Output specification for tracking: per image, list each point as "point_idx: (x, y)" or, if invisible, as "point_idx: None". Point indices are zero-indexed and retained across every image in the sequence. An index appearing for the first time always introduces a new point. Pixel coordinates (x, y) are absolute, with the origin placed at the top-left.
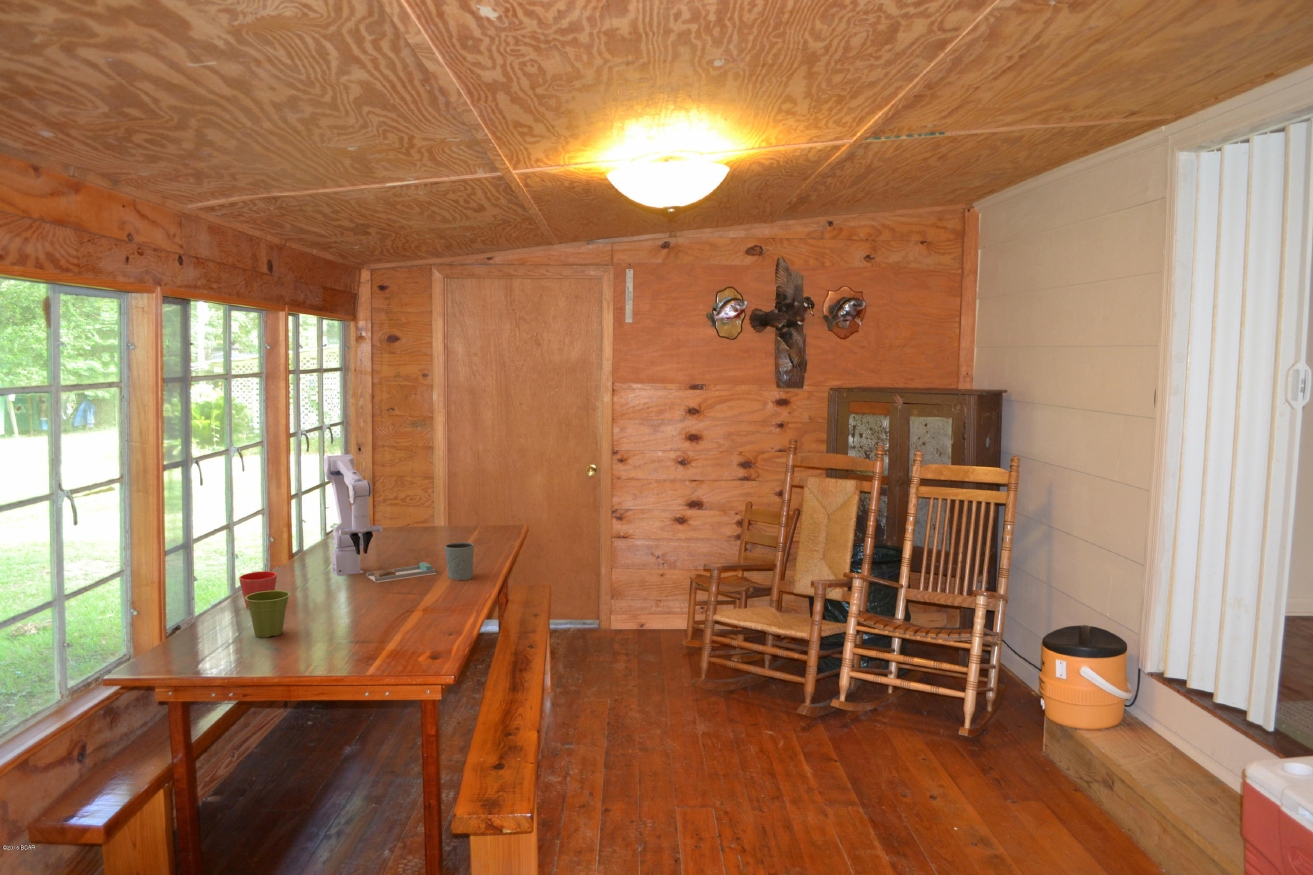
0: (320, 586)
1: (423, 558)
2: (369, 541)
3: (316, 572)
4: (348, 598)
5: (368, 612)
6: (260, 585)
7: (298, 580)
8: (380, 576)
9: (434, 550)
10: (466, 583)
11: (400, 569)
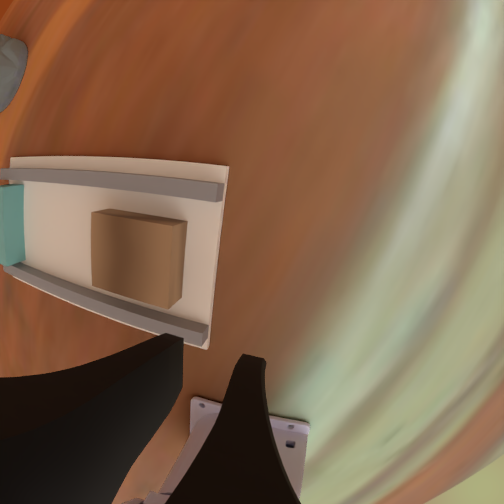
0: (459, 330)
1: (19, 373)
2: (41, 380)
3: (320, 494)
4: (458, 22)
5: None
6: None
7: (429, 453)
8: (172, 221)
9: None
10: (34, 8)
11: (66, 285)
